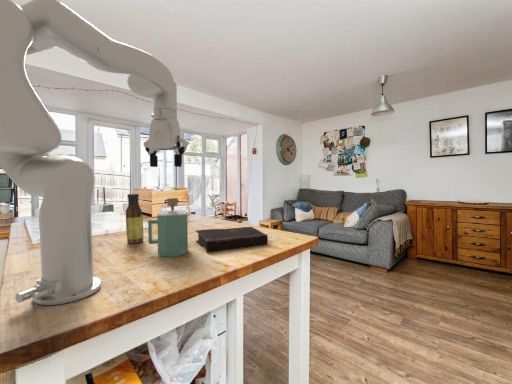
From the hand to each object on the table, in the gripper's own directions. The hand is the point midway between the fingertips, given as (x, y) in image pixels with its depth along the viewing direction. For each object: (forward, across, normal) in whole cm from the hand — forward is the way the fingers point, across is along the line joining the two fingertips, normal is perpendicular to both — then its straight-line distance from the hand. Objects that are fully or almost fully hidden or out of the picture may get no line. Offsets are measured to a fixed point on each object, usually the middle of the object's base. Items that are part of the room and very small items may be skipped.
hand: (165, 166), depth 86 cm
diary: (+31, +16, +20) cm, 40 cm away
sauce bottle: (+31, -21, +9) cm, 38 cm away
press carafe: (+31, +1, +1) cm, 31 cm away
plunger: (+26, +2, +1) cm, 26 cm away
